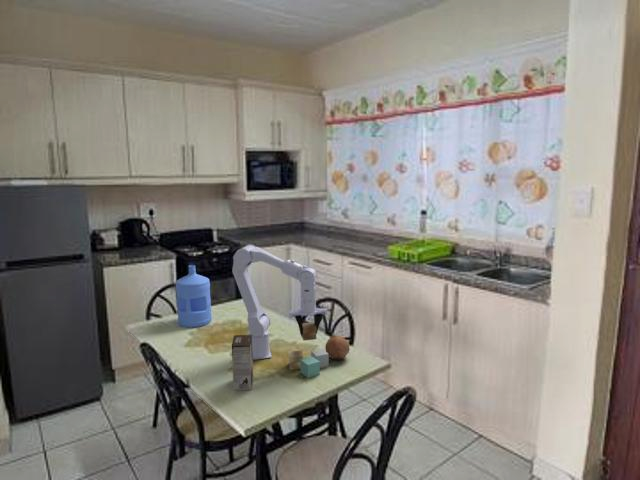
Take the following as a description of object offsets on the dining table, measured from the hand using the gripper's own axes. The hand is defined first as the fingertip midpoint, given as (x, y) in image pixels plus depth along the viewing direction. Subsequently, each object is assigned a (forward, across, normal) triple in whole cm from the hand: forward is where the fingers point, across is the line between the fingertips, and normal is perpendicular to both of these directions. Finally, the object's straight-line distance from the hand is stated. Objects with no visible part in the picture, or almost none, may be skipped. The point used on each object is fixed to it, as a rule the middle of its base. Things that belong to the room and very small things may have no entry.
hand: (308, 333), depth 169 cm
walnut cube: (+2, 0, 0) cm, 2 cm away
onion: (+11, +11, -2) cm, 15 cm away
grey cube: (+10, +3, -6) cm, 12 cm away
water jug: (+11, -45, +53) cm, 70 cm away
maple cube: (+10, -6, -5) cm, 13 cm away
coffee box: (+11, -26, -14) cm, 31 cm away
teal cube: (+10, -2, -12) cm, 16 cm away
